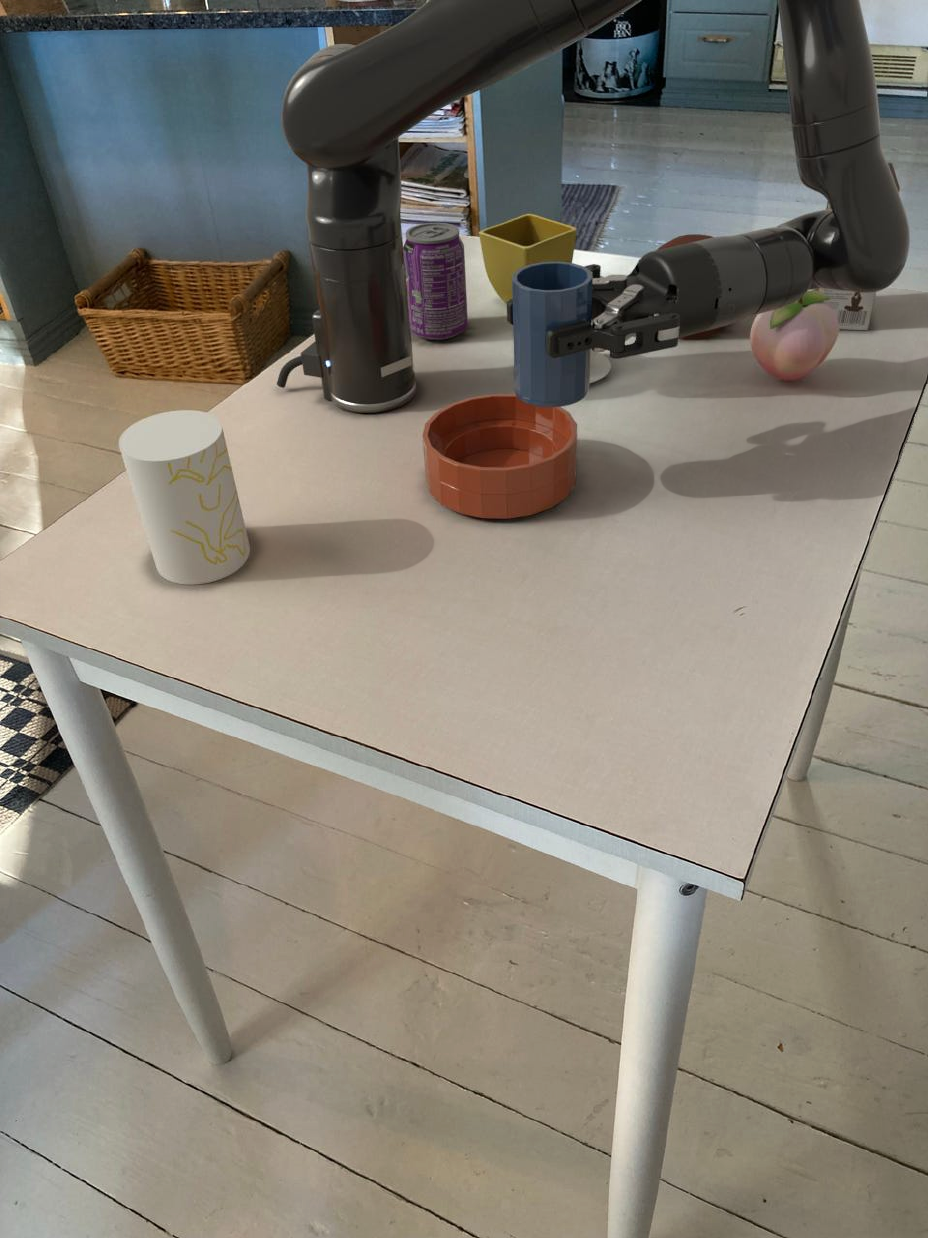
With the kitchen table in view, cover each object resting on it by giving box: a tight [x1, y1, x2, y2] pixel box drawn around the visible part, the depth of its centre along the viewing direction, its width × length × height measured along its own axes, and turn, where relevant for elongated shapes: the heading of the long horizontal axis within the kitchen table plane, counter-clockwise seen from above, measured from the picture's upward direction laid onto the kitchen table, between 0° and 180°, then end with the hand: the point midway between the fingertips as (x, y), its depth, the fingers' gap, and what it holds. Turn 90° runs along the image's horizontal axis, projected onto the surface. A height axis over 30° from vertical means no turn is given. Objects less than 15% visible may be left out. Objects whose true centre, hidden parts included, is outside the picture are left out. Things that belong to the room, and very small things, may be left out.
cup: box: [118, 409, 251, 586], centre depth 83 cm, size 8×8×12 cm
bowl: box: [421, 393, 578, 520], centre depth 92 cm, size 14×14×6 cm
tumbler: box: [512, 262, 593, 408], centre depth 83 cm, size 6×6×10 cm
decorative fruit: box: [749, 290, 840, 382], centre depth 104 cm, size 9×8×10 cm
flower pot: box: [478, 213, 578, 303], centre depth 124 cm, size 9×9×9 cm
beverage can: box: [403, 222, 469, 341], centre depth 117 cm, size 7×7×12 cm
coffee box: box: [811, 162, 901, 331], centre depth 114 cm, size 9×6×16 cm
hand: (528, 328), depth 82 cm, fingers closed on tumbler, 6 cm apart
